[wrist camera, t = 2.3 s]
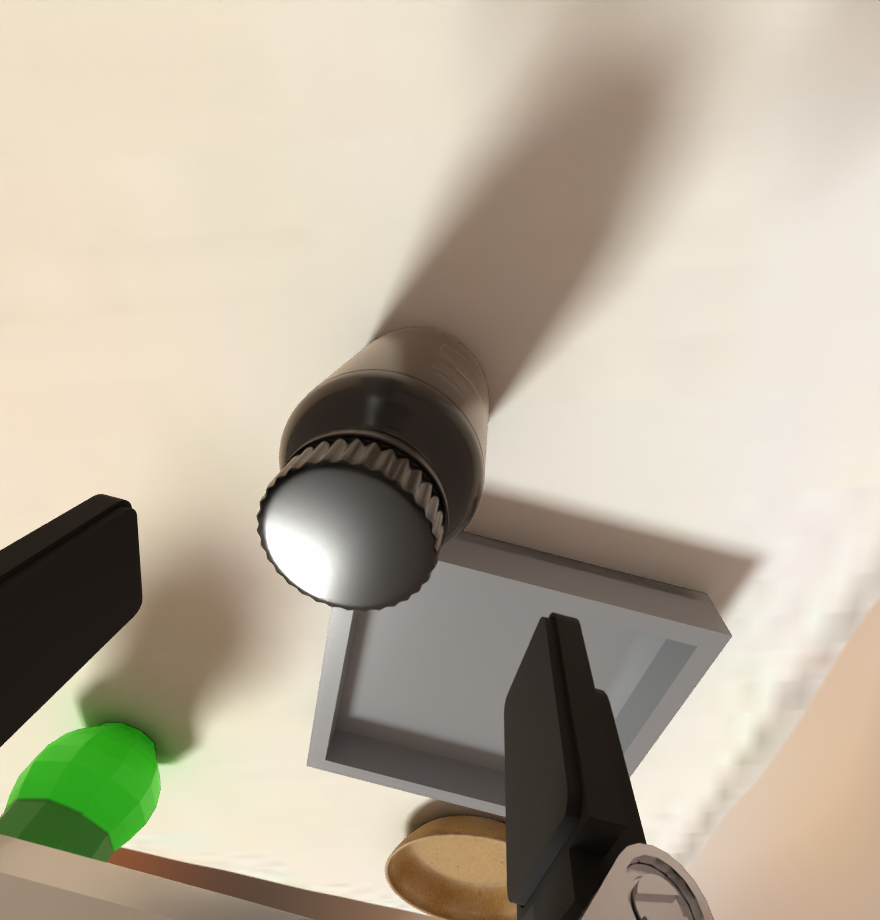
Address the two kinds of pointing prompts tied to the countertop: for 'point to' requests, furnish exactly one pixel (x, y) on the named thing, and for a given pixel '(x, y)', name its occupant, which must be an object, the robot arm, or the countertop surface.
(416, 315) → the countertop surface
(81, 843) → the plastic bottle
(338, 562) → the supplement bottle
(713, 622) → the tray
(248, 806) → the countertop surface
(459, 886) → the plant saucer
